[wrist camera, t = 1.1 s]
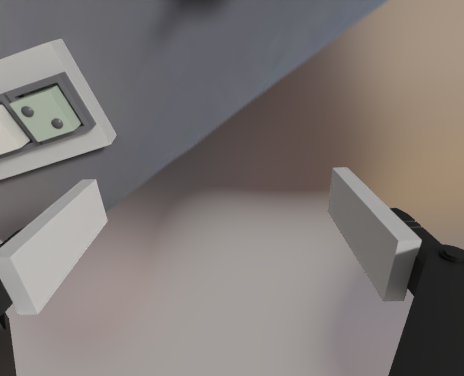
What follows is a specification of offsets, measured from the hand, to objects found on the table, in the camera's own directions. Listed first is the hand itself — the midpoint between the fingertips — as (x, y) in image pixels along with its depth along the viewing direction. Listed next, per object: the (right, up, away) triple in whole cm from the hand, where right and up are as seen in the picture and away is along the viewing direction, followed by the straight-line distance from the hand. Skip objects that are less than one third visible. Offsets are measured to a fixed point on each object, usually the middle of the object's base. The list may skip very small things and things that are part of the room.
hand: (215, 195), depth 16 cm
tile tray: (-26, +9, +19) cm, 33 cm away
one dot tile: (-25, +7, +16) cm, 30 cm away
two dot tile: (-19, +9, +15) cm, 26 cm away
